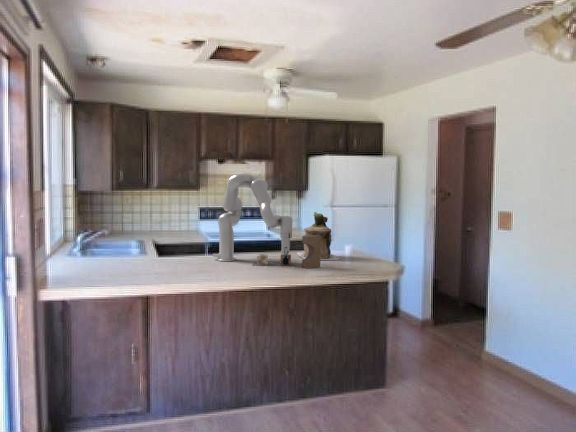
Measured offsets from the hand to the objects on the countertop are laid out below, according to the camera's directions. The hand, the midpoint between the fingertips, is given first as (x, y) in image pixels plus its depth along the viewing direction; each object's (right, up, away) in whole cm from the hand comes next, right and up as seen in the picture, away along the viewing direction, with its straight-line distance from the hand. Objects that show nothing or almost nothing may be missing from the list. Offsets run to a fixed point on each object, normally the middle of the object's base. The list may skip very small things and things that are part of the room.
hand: (285, 262), depth 318 cm
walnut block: (0, -1, 0) cm, 1 cm away
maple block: (-15, -1, 0) cm, 15 cm away
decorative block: (+16, -2, -7) cm, 18 cm away
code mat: (-8, -1, 0) cm, 8 cm away
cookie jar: (+22, +1, +28) cm, 36 cm away
